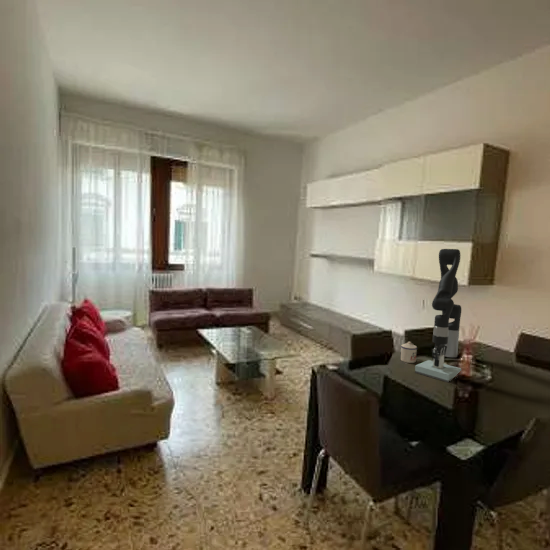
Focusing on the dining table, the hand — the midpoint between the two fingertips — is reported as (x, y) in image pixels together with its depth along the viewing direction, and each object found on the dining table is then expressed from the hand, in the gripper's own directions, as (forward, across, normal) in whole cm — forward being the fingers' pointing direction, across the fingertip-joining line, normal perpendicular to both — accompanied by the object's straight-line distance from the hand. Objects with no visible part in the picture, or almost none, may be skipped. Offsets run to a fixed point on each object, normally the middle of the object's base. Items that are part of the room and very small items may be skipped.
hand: (438, 365), depth 203 cm
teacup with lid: (+5, -10, -22) cm, 25 cm away
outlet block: (+5, 0, 0) cm, 5 cm away
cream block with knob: (+2, 0, 0) cm, 2 cm away
